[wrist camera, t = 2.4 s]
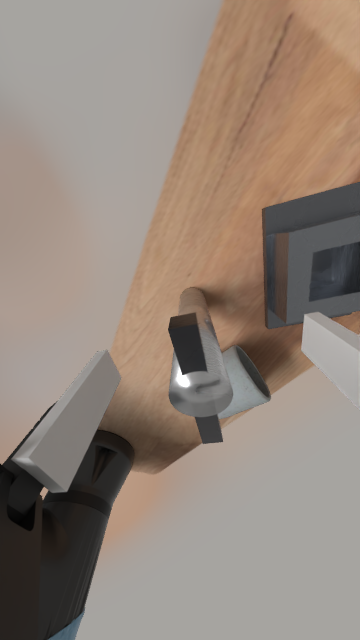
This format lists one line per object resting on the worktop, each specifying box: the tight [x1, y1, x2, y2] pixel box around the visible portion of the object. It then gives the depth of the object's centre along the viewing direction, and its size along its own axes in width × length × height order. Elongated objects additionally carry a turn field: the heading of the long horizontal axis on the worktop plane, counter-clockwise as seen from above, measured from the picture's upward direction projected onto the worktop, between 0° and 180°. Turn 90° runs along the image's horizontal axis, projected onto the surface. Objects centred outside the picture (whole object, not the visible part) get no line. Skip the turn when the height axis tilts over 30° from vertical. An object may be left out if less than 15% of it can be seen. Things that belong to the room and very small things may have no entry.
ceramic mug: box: [218, 345, 271, 419], centre depth 24 cm, size 11×8×8 cm
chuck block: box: [262, 182, 360, 329], centre depth 18 cm, size 10×14×4 cm
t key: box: [168, 287, 233, 444], centre depth 15 cm, size 8×3×15 cm, turn 14°
